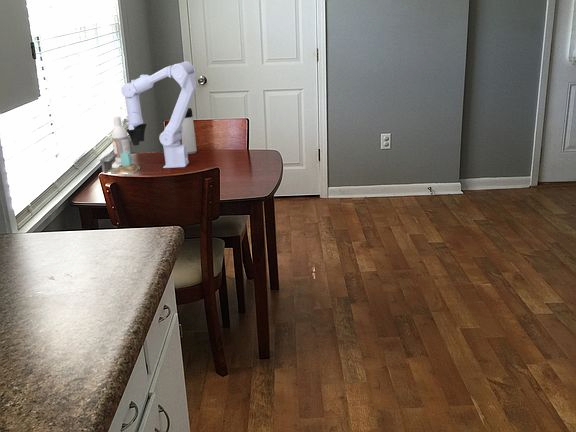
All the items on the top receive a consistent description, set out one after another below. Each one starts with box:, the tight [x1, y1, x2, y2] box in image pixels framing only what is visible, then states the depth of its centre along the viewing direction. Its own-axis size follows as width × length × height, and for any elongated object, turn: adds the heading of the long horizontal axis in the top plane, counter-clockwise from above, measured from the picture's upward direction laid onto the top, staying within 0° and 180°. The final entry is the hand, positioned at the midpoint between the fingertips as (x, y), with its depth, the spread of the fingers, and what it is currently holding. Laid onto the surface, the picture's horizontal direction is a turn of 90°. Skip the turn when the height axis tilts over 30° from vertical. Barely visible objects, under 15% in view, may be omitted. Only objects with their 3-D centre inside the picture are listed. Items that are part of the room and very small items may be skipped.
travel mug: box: [181, 107, 198, 155], centre depth 294 cm, size 6×7×20 cm
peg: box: [120, 151, 133, 167], centre depth 270 cm, size 3×3×7 cm
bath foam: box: [111, 116, 132, 164], centre depth 286 cm, size 7×7×20 cm
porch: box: [99, 153, 141, 175], centre depth 270 cm, size 13×10×7 cm
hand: (138, 143), depth 277 cm, fingers open, 7 cm apart
